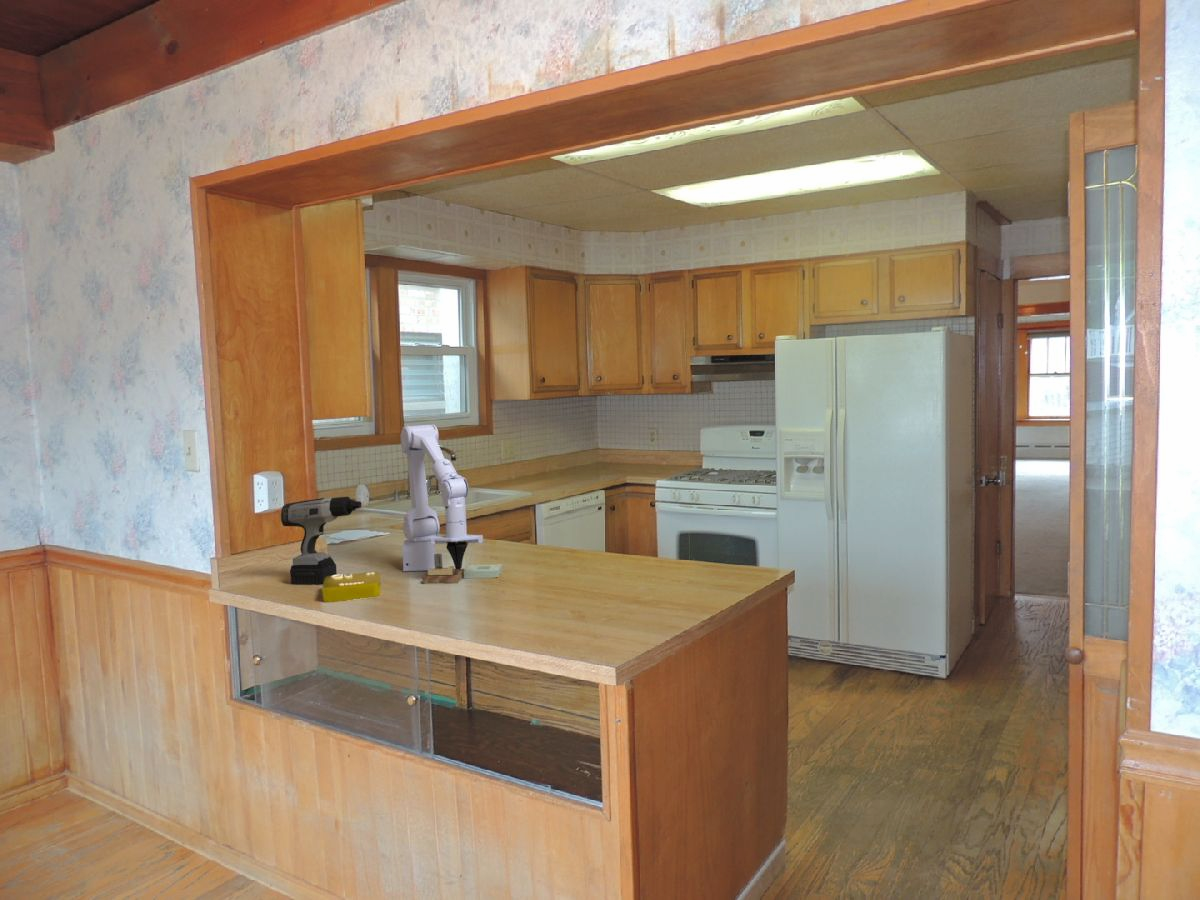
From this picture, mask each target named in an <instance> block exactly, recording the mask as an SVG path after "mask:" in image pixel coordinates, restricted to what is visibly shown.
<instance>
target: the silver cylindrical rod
mask: <svg viewBox="0 0 1200 900" xmlns="http://www.w3.org/2000/svg"><path fill="white" fill-rule="evenodd" d="M434 563H435V568H444V567H443V554H442V553H435V554H434Z"/></svg>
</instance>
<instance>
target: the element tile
mask: <svg viewBox="0 0 1200 900" xmlns="http://www.w3.org/2000/svg"><path fill="white" fill-rule="evenodd" d="M381 582H382V581H381V573H380V572H379V571H368V572H367V571H366V572H356V573H349V574H347V573H346V574H342V573H339V574H337V575H332V576H327V577H326V578H325V579H324V583H323V585H322V590H321V591H322V601H323V603H331V604H332V603H340V602H339V601H341V602H348V601H347V600H351V601H354V600H353V599H360V598H369V597H377V596H380V595H381V596H382V584H381ZM381 596H380V597H381ZM377 598H378V597H377Z"/></svg>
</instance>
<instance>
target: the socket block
mask: <svg viewBox="0 0 1200 900" xmlns="http://www.w3.org/2000/svg"><path fill="white" fill-rule="evenodd" d="M465 570H466V568H461V569H455V568H454V574H453V575H428V572H426V574H423V576H422V583H444V584H459V583H460V582H461V581H462V579H463V578H464V571H465ZM459 581H460V582H459ZM458 582H459V583H458Z"/></svg>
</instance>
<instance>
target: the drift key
mask: <svg viewBox="0 0 1200 900" xmlns="http://www.w3.org/2000/svg"><path fill="white" fill-rule="evenodd" d="M454 569H455V565H451V566H450V565H449V566H448V567H443V568H429V569H428V571H427V573H428V575H453V574H454Z"/></svg>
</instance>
